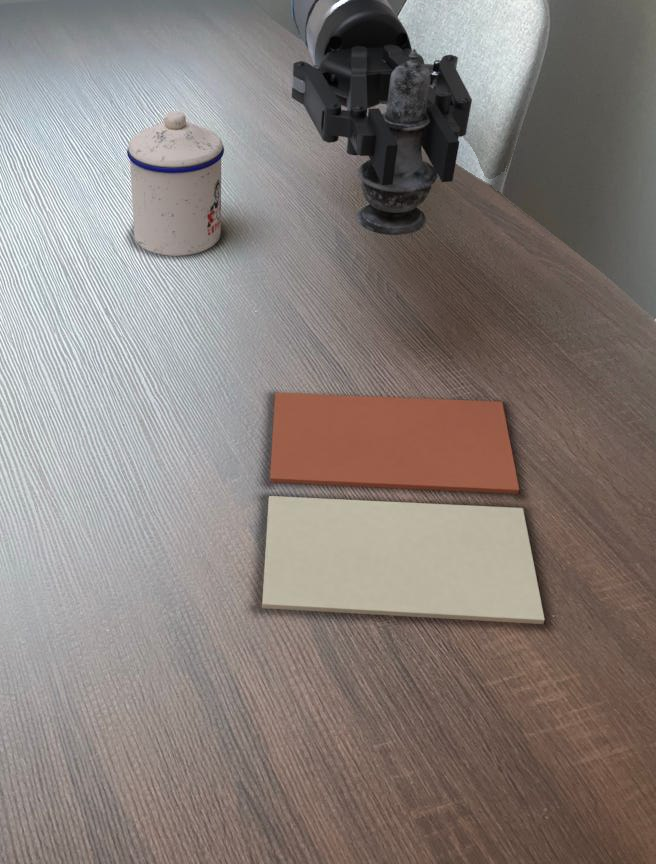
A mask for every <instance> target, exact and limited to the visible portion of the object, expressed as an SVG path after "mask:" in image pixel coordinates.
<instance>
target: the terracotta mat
mask: <svg viewBox="0 0 656 864" xmlns="http://www.w3.org/2000/svg"><path fill="white" fill-rule="evenodd" d="M273 406H274V407H273V423H272V439H271V454H270V455H271V456H270V469H269V470H270V471H269V472H270V473H269V483H272V484H273V483H275V484H294V485H295V484H299V485H316V486H317V485H319V486H321V485H322V486H337V487H338V486H339V487H361V488H382V489H384V488H385V489H402V490H403V489H405V490H424V491H443V492H444V491H447V492H469V493H487V494H488V493H489V494H510V495H518V494H519V493H520V485H519V481H518V480H519V479H518V475H517V469H516V465H515V460H514V454H513V450H512V445H511V439H510V434H509V429H508V422H507V418H506V413H505V408H504V403H503V401H496V400H472V399H446V398H445V399H443V398H421V397H395V396H393V397H392V396H369V395H345V394H343V395H342V394H319V393H293V392H290V393H289V392H275V393H274V405H273Z"/></svg>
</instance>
